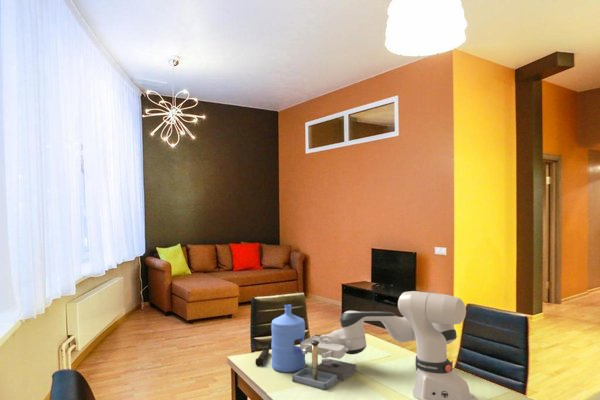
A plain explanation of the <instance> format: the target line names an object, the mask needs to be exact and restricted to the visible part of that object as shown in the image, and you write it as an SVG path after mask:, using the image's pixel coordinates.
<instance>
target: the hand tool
mask: <svg viewBox="0 0 600 400" xmlns="http://www.w3.org/2000/svg"><path fill="white" fill-rule="evenodd" d="M269 353H270V346H269V344H265V345H264V346H263V347H262V351H261V352H260V354H259V356H258V357H257V358H256V359H255V361H254V362H255V365H257V366H256V367H263V366H264V365H265V362H266V360H267V357H269V355H270V354H269Z"/></svg>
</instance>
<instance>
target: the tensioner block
mask: <svg viewBox="0 0 600 400" xmlns="http://www.w3.org/2000/svg"><path fill="white" fill-rule="evenodd" d="M318 371H321V372H325V373H329V374H334V375H337V381H338V380H339V381H346V380H348V378H350V376H352V375H353V374H355V373H356V372H357V364H356V363H351V362H346V361H341V360H338V359H337V360H336V359H334V358H333V359H332V358H329V357H327V358H322V359H321V362H320V363H318Z"/></svg>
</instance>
